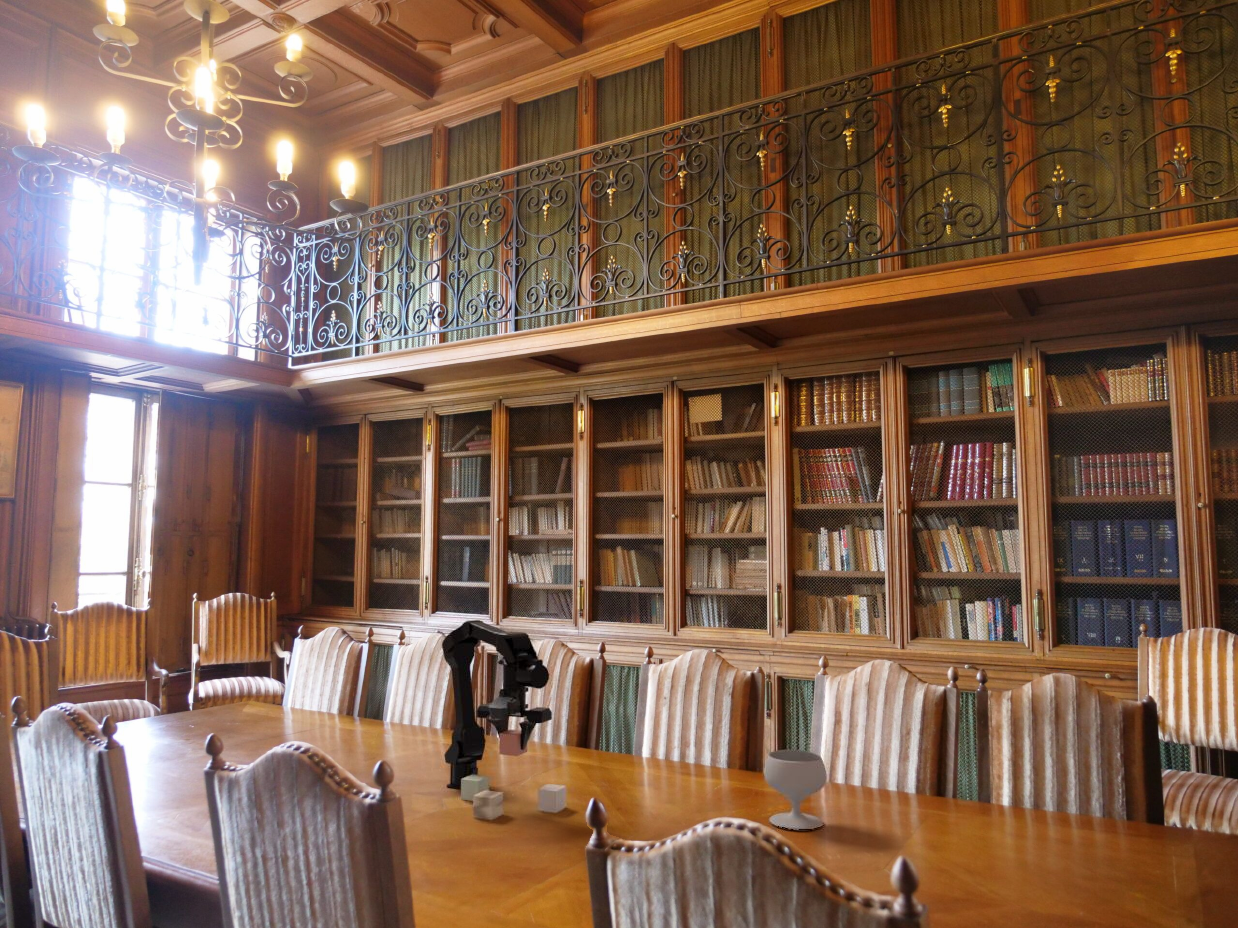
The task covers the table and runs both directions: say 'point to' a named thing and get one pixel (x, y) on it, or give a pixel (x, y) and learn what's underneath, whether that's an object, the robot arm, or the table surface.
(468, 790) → the sage green block
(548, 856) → the table surface
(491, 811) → the ash block
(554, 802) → the pale grey block
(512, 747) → the brick-red block
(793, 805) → the chalice
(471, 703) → the robot arm
